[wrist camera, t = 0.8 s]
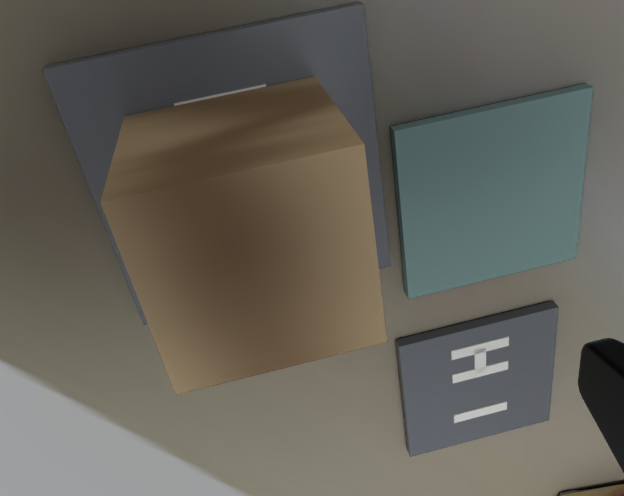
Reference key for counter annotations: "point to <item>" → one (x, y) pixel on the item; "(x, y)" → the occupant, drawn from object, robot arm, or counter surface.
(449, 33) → the counter surface
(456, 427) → the code tile
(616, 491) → the candy box
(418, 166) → the rubber mat
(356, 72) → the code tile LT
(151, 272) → the oak block
